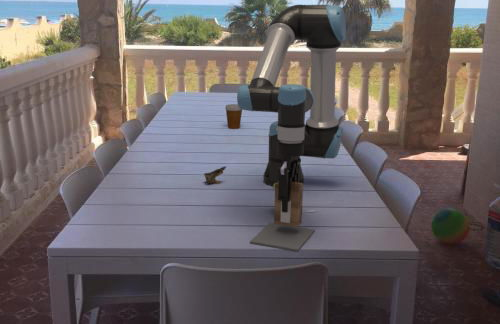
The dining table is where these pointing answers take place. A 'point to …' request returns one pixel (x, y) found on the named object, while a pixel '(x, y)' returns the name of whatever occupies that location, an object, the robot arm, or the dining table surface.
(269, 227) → the rubber mat
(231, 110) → the disposable coffee cup
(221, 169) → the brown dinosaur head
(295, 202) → the walnut block
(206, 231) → the dining table surface
